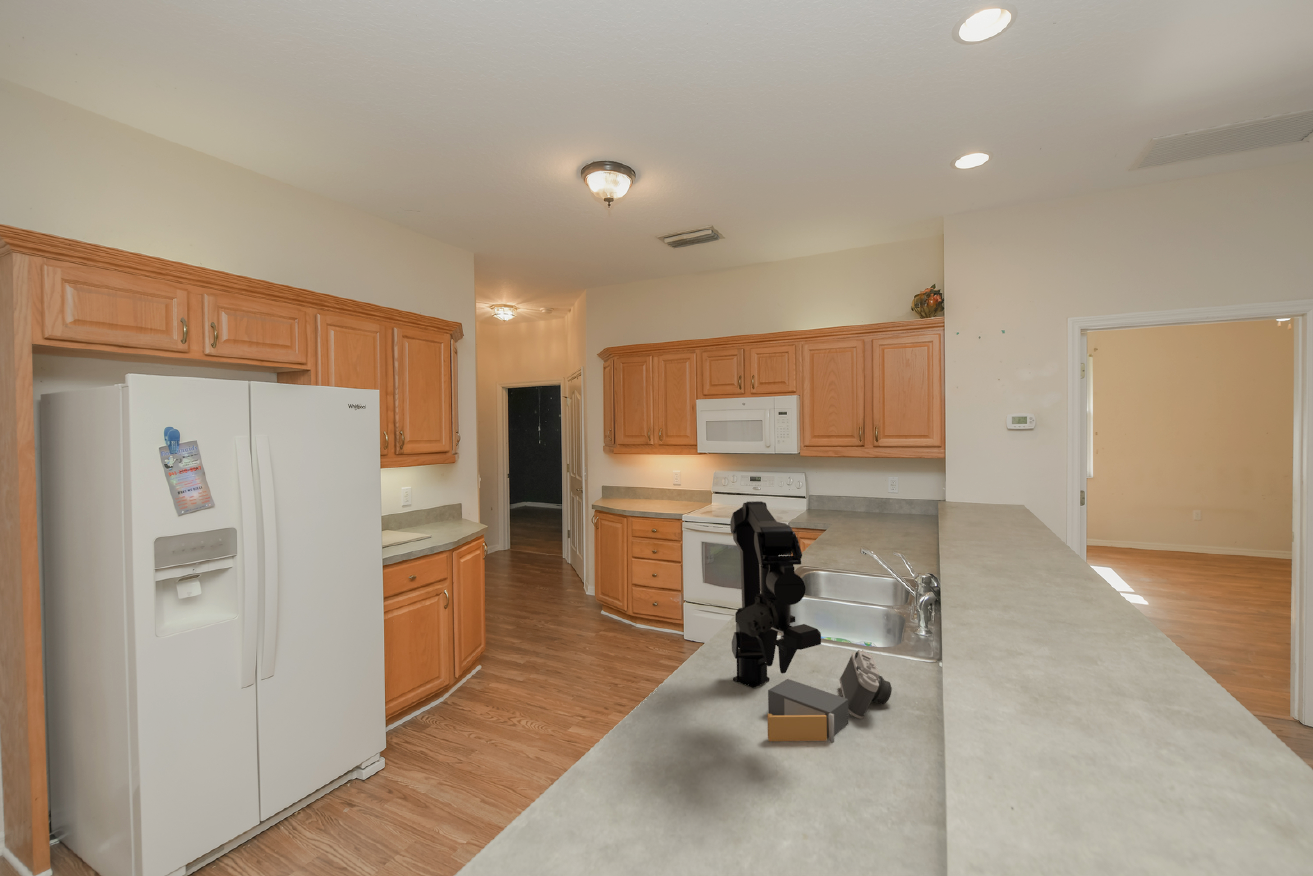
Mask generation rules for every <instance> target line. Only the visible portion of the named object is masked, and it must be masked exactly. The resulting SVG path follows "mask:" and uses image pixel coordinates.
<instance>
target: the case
mask: <svg viewBox="0 0 1313 876" xmlns="http://www.w3.org/2000/svg"><path fill="white" fill-rule="evenodd" d="M767 693H768V694H767V697H768V698H767V701H768V702H767V703H768V704H767V705H768V706H767V709H768V710H767V714H772V716H775V715H826V716H827V739H828V741H829V743H835V735H836V734H838V733H839V732H840V731H842V730H843V729H844V728H845V727H846V726H848V725H849V712H848V699H846V698H843V696H840V695H837V694H835V693H831V692H827V691H825V690H822V689H819V688H816V687H813V686H811V685H808V684H805V683H801V682H799V681H796V680H792V679H789V678H785V680H783V681H781V682H780V683H777V684H776V685H774V686H772V687H771V688H769V689H768V690H767Z"/></svg>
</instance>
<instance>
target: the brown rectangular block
mask: <svg viewBox="0 0 1313 876" xmlns="http://www.w3.org/2000/svg"><path fill="white" fill-rule="evenodd" d="M767 741H768V742H819V741H821V742H822V741H824V742H826V741H828V737H827V716H826V715H775V716H773V715H772V714H768V713H767Z"/></svg>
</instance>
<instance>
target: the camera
mask: <svg viewBox="0 0 1313 876" xmlns="http://www.w3.org/2000/svg"><path fill="white" fill-rule="evenodd" d="M874 659H875V658H874V656H873V655H872V654H870V653H868V652H866V651H865V650H863V649H862V650H860V649H858V650H857V651H856V652H852V653H851V655H850V657H849V660H848V662H847V665H846V666H845V667H844V671H843V673H842V674H841V676H840V677H839V679H838V680H839V684H840V688H841V689H840V690H841V695H842V697H843V698H846V699H848V714H850V715H851V716H852V717H855V718H856V719H860V720H861V719H864V717H865V715H866V713H867V711H868V709H869V706H870V705H871V704H872V702H873V703H875V702H877V703H879V704H880V705H884V704H886V703H887V702H889V700H890V698H891V695H892V690H893V688H892V684H891V682H890V681H887V680H886V679H885V678H883V676H881V675H880V673H879V669H878V668H877V664H876V662H875V660H874Z"/></svg>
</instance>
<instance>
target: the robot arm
mask: <svg viewBox="0 0 1313 876" xmlns="http://www.w3.org/2000/svg"><path fill="white" fill-rule="evenodd" d="M729 525H730V526H729V527H730V533H731V534H732V536H733V537H732V538H733V542H734V543H735V545H736V546H737V548H738V549H739V551H740V554H739V555H740V558H739V559H740V582H741V583H740V584H741V585H740V586H741V607H739V608H738V609H736V612H735V614H734V615H735V620H734V621H735V631H734V632H733V635H732V639H731V652H732V654H733V657H734V658H735V660H736V676H734V677H732V681H734V682H737V683H739V684H741V685H744V686H747V687H750V688H753V689H756V688H758V687H759V686H762V685H763V684H765V683H767V682H769V681H770V677H769V676H768V667H772V666H773V663H774V659H775V655H776V647H777V648H778V663H779V671H780V673H781V674H785V673H786V672H787V670H788V669H789V667H790V665H791V663H792V660H793V658H794V657H795V654H796V652H797V651H798V650H799V651H801V650H805V649H810V648H812V647H816V646H820V645H822V632H820V630H819V629H818V628H816V627H813V626H810V625H807V624H806V623H803V624H797V625H794V626H793V625H791V624H793V623H795V622H796V616H794V615H791V613H792V612H791V611H792V610H791V606H792V605H795V604H798V603H799V602H801V601H802V600H803V598H804V597H805V595H806V584H805V582H804V580H803V578H802V577H801V576H800V575H798V574H797V573H796V572H795V566H794V565H798V566H799V565H802V558H803V552H802V550H801V546H800V542H799V538H798V536H796V532H795V531H793V529H792V527H791V525H789V524H788V523H785V522H781V521H780V522H779V521H777V520H776V518H775V517H774V516H773V514H772V513H771V512H770V511H769V509H768V506H767V503H766V502H765V501H759V500H757V501H752V500H751V501H746V502H743V503H742V506H741V507H740V508H738V509H736V510H735V511H733V512H732V515H731V518H730V522H729ZM779 633H781V635H780V638H779V639H778V634H779Z"/></svg>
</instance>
